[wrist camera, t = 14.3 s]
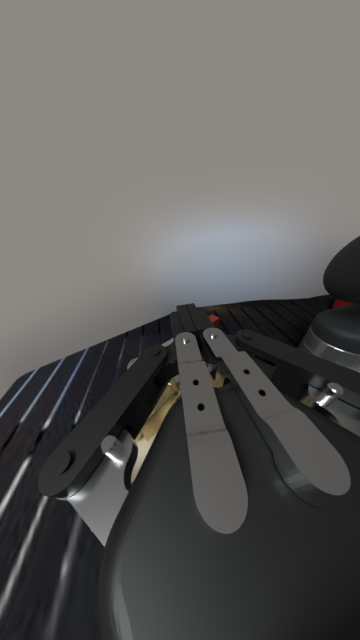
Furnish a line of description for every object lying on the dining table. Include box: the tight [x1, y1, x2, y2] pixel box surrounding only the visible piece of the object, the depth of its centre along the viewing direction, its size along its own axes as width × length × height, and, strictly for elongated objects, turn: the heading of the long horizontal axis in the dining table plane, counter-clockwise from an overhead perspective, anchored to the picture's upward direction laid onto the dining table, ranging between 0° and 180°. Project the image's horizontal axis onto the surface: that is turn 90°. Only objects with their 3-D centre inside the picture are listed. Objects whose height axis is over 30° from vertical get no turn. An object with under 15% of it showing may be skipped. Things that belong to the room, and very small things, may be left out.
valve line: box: [135, 374, 181, 442], centre depth 28 cm, size 30×7×13 cm, turn 136°
